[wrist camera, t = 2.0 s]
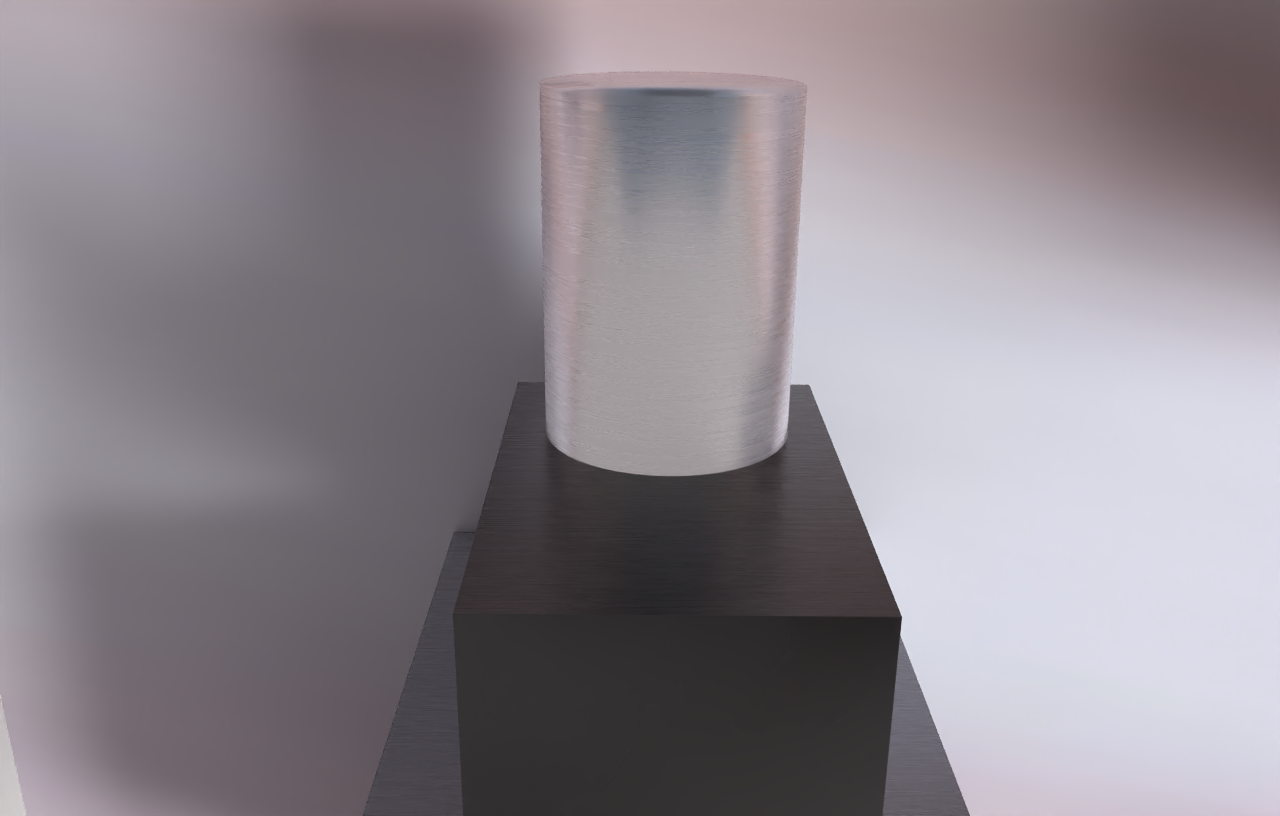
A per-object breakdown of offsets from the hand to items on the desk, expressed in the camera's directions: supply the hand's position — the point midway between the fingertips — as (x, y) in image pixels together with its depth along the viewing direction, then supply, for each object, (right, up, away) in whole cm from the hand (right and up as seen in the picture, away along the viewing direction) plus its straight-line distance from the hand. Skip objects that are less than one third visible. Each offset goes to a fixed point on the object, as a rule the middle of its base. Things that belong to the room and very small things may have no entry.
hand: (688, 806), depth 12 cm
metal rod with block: (0, +1, +10) cm, 10 cm away
